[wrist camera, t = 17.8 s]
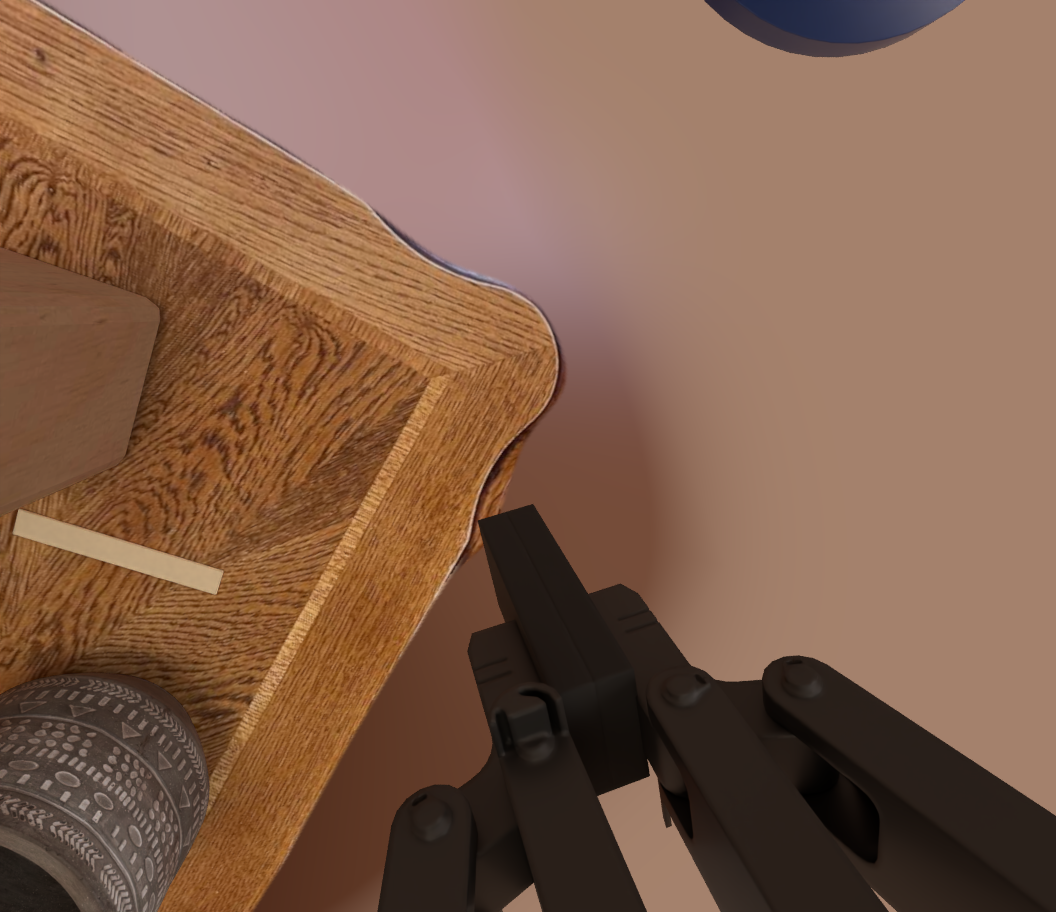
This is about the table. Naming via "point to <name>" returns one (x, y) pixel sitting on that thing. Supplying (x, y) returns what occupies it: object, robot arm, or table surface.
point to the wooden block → (66, 376)
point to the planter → (95, 793)
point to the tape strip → (117, 551)
